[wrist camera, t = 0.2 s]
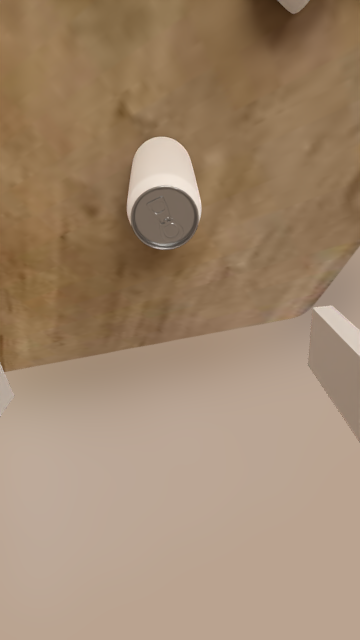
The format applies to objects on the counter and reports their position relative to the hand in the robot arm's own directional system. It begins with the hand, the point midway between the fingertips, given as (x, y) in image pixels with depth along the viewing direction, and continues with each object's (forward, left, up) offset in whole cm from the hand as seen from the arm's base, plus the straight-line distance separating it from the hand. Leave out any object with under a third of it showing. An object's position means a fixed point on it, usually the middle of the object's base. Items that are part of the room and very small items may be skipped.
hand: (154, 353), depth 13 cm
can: (+1, +2, -28) cm, 28 cm away
